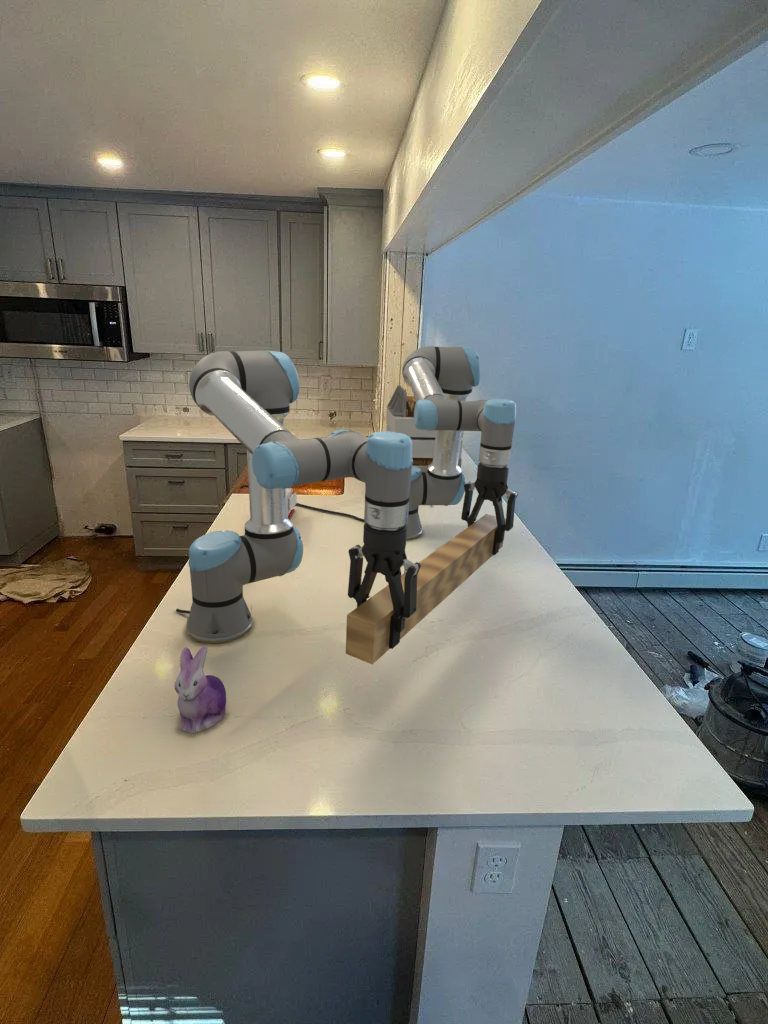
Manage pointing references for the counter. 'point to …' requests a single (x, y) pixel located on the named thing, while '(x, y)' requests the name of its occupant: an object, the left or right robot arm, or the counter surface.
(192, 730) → the figurine
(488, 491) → the right robot arm
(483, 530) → the beam
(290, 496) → the toy
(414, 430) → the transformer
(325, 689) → the counter surface
